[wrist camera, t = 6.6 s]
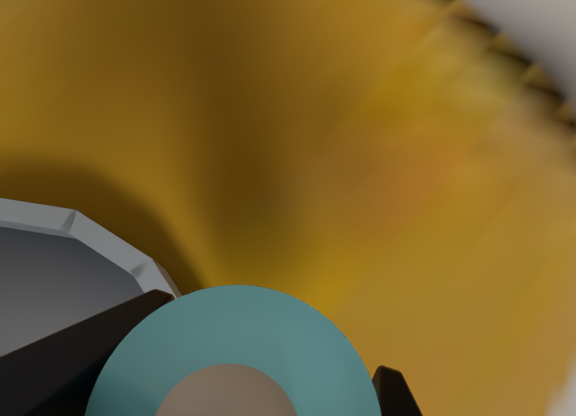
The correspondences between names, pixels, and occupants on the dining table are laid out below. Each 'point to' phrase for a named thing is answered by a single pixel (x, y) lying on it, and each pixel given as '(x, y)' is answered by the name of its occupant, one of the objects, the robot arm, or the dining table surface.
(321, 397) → the bead stack
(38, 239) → the groove tray
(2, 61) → the dining table surface
